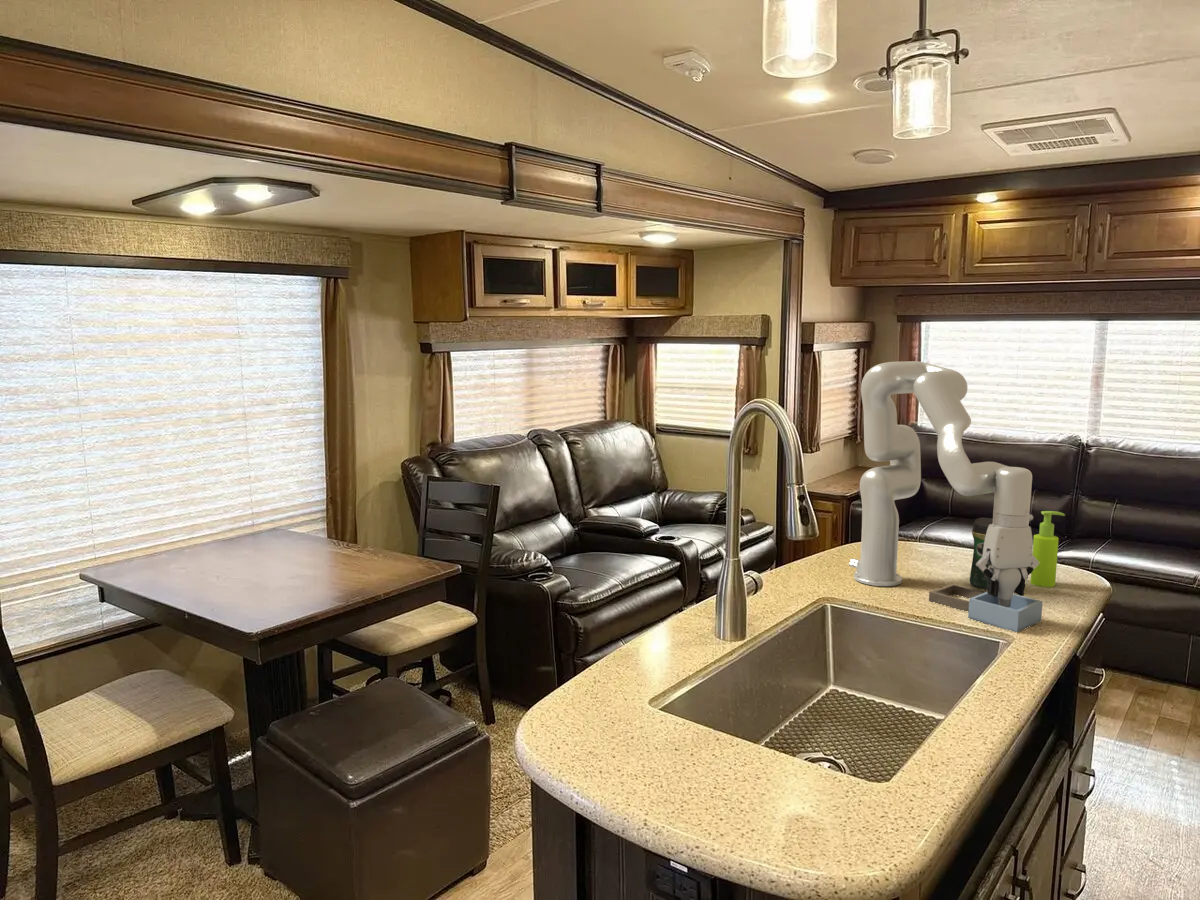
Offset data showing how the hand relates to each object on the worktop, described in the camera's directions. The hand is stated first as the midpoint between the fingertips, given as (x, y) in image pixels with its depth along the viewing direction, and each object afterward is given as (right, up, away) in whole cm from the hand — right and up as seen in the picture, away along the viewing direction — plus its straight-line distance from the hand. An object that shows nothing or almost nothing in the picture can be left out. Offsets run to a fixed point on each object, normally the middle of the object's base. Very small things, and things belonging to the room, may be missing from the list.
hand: (1005, 594), depth 193 cm
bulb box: (0, -6, +1) cm, 6 cm away
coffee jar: (+8, -3, +26) cm, 27 cm away
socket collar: (-5, -4, +13) cm, 15 cm away
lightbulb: (0, -4, +1) cm, 4 cm away
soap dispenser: (+24, -2, +28) cm, 37 cm away
